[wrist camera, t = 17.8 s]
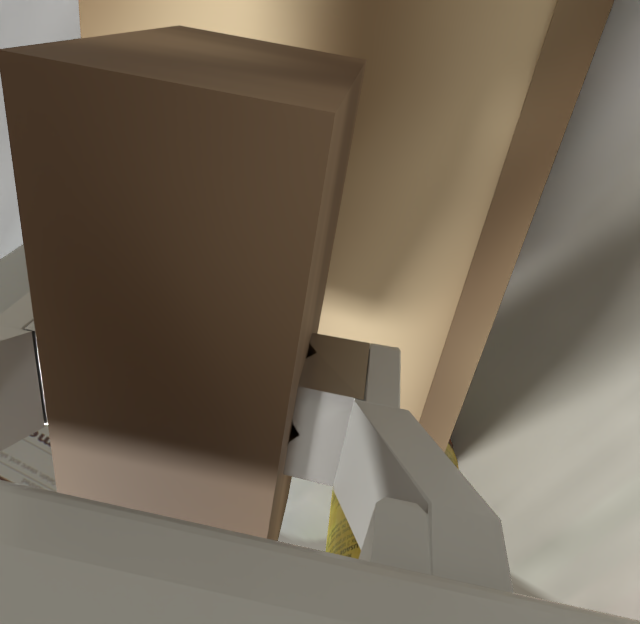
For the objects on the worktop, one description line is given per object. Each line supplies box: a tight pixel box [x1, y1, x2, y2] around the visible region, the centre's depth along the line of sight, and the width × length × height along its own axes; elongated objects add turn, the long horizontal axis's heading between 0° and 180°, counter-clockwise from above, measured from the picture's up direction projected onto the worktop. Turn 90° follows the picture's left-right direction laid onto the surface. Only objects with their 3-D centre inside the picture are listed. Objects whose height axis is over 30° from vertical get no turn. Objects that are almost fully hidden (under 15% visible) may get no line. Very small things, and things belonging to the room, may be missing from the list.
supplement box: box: [0, 244, 57, 492], centre depth 22 cm, size 10×9×17 cm
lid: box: [79, 0, 614, 453], centre depth 15 cm, size 11×17×1 cm
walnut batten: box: [0, 25, 367, 541], centre depth 9 cm, size 3×10×4 cm, turn 171°
